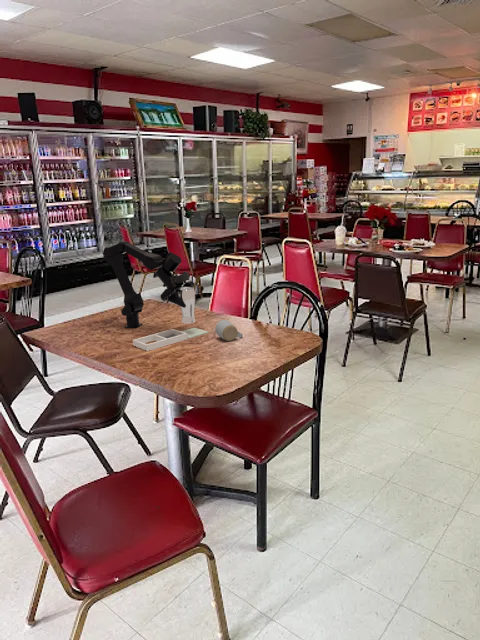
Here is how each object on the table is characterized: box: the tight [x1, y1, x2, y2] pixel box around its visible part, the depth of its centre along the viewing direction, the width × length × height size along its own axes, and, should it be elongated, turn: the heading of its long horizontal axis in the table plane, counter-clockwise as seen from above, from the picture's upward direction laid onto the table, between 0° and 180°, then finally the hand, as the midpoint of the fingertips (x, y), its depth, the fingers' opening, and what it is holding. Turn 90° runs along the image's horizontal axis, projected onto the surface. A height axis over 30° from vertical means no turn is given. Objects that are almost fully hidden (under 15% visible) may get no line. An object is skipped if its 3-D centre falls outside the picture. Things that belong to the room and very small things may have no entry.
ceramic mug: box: [215, 319, 243, 342], centre depth 204 cm, size 11×8×8 cm
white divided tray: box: [132, 327, 210, 352], centre depth 207 cm, size 32×11×2 cm, turn 133°
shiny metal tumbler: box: [179, 287, 196, 325], centre depth 210 cm, size 7×7×15 cm
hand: (189, 305), depth 209 cm, fingers closed on shiny metal tumbler, 6 cm apart
